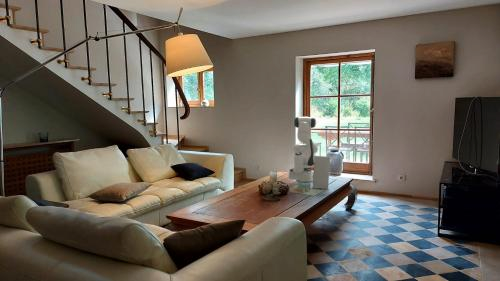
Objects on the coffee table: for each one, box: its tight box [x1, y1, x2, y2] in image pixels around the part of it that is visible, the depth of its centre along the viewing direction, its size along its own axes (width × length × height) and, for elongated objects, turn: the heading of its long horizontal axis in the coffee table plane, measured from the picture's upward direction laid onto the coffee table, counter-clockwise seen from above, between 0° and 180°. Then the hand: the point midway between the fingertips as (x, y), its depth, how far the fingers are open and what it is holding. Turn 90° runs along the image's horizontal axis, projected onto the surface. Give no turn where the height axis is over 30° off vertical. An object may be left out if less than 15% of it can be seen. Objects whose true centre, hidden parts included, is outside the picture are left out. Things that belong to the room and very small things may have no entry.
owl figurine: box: [261, 179, 281, 202], centre depth 297 cm, size 18×12×17 cm, turn 52°
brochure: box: [312, 155, 331, 190], centre depth 329 cm, size 14×6×30 cm, turn 84°
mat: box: [302, 188, 325, 197], centre depth 316 cm, size 20×12×1 cm, turn 145°
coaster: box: [298, 182, 311, 188], centre depth 320 cm, size 8×8×3 cm
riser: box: [289, 184, 311, 195], centre depth 323 cm, size 18×12×4 cm, turn 144°
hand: (299, 184), depth 324 cm, fingers closed
